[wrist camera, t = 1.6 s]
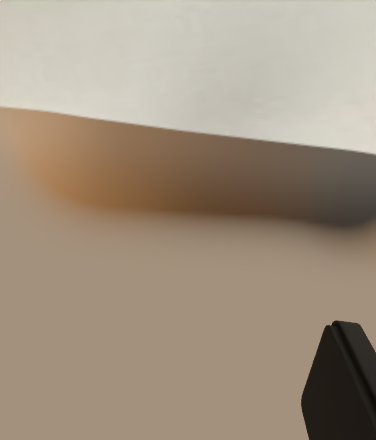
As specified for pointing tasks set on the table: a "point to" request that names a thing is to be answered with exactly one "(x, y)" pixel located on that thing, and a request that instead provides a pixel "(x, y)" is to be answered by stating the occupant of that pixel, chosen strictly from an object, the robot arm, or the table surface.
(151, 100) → the table surface
